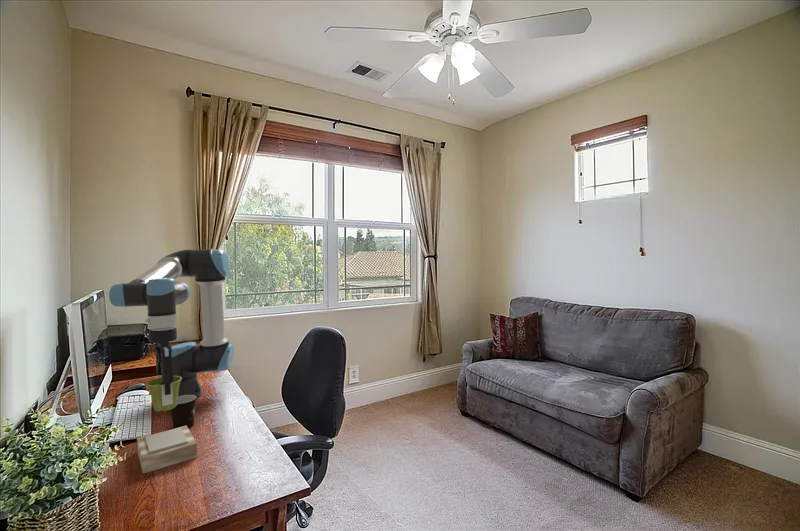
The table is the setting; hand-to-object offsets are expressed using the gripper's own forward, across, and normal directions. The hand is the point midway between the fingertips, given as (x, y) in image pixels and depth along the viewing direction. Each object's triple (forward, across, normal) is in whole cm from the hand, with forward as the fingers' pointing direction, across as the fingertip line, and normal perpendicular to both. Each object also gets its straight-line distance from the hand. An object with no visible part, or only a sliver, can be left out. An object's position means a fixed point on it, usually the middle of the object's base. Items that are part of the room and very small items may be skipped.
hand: (165, 399), depth 121 cm
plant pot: (+3, 0, 0) cm, 3 cm away
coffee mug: (+18, -20, +9) cm, 28 cm away
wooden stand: (+17, 0, 0) cm, 17 cm away
